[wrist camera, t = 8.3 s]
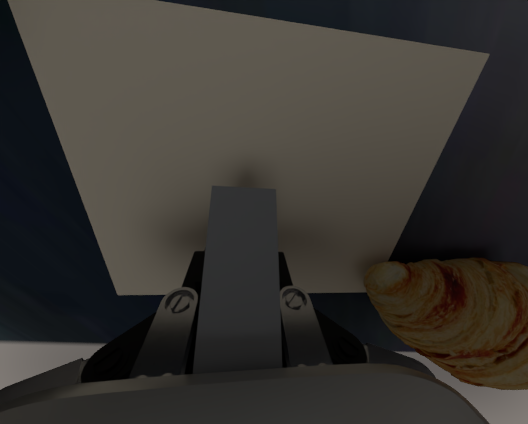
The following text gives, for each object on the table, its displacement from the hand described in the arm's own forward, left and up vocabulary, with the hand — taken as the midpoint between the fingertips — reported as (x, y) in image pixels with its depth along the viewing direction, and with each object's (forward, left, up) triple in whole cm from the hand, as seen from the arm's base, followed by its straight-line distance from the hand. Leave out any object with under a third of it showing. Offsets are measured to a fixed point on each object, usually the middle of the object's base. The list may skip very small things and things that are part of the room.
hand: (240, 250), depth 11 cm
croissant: (-18, +5, -2) cm, 19 cm away
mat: (-1, -3, -2) cm, 4 cm away
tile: (0, -3, +1) cm, 3 cm away
